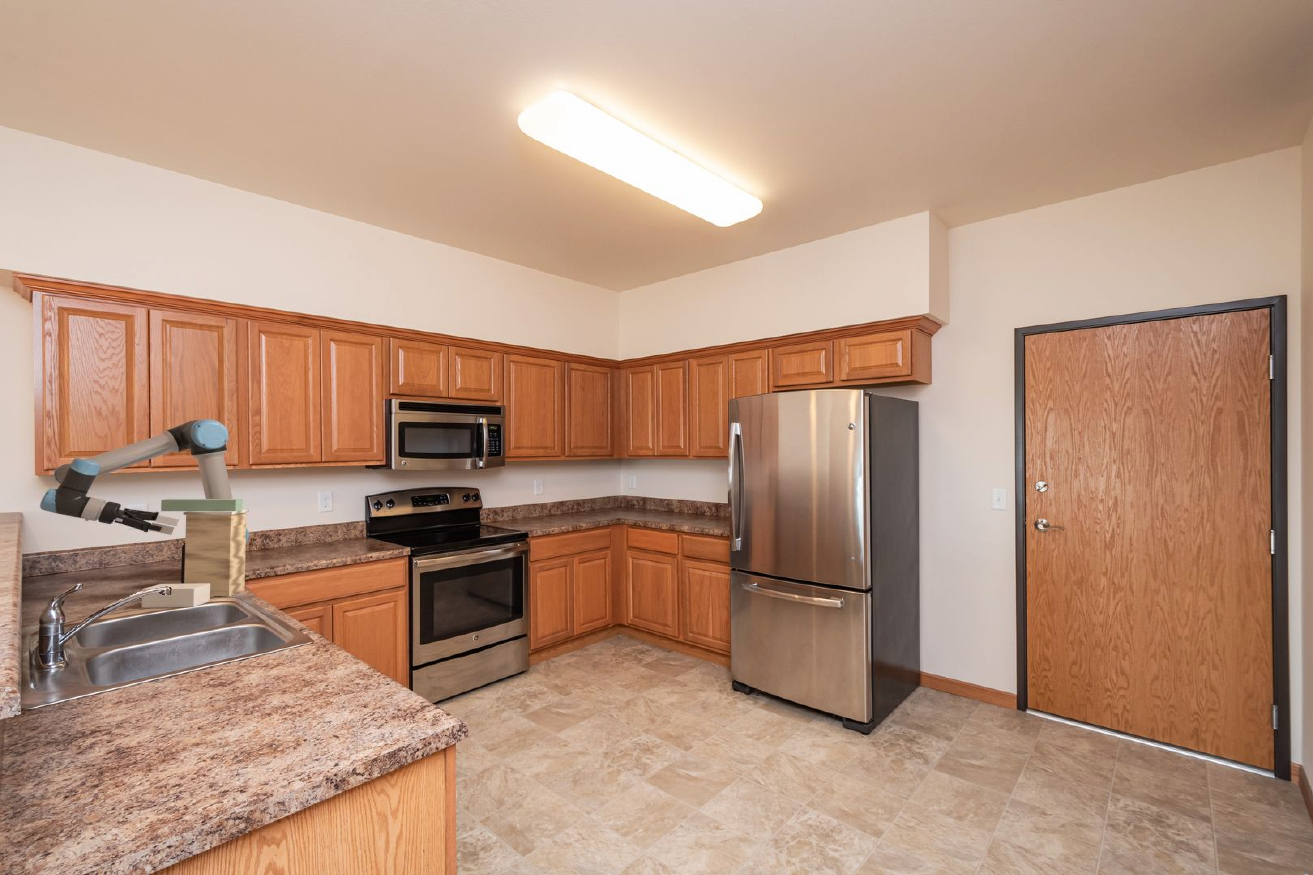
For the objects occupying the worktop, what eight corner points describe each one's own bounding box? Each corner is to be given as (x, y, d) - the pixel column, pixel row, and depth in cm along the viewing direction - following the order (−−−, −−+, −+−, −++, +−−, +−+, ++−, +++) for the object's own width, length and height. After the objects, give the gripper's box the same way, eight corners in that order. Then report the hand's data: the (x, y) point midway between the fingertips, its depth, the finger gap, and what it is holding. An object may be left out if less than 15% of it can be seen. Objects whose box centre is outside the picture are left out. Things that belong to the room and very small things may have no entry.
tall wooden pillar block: (200, 591, 217) (202, 509, 218) (246, 590, 218) (248, 509, 219) (181, 597, 207) (183, 511, 208) (229, 597, 208) (231, 511, 209)
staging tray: (159, 601, 202) (160, 583, 202) (209, 600, 203) (210, 583, 203) (141, 607, 194) (142, 589, 194) (193, 606, 195) (193, 588, 195)
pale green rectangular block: (169, 510, 214) (169, 498, 214) (242, 509, 216) (242, 499, 216) (161, 511, 210) (161, 499, 210) (235, 511, 212) (235, 499, 212)
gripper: (105, 513, 218) (175, 528, 229) (88, 529, 197) (166, 544, 208) (114, 494, 218) (183, 510, 230) (98, 508, 198) (175, 524, 209)
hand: (175, 526), depth 219 cm, fingers open, 13 cm apart
